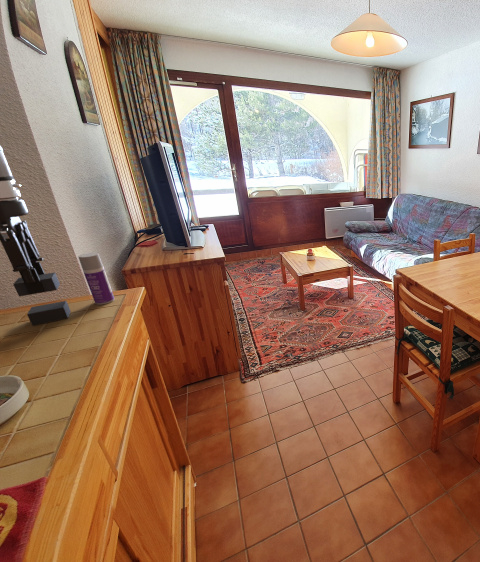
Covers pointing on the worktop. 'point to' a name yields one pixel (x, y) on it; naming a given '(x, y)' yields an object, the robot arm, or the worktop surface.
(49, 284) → the dark grey block
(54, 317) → the black pad
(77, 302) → the worktop surface
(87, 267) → the container
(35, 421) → the worktop surface
